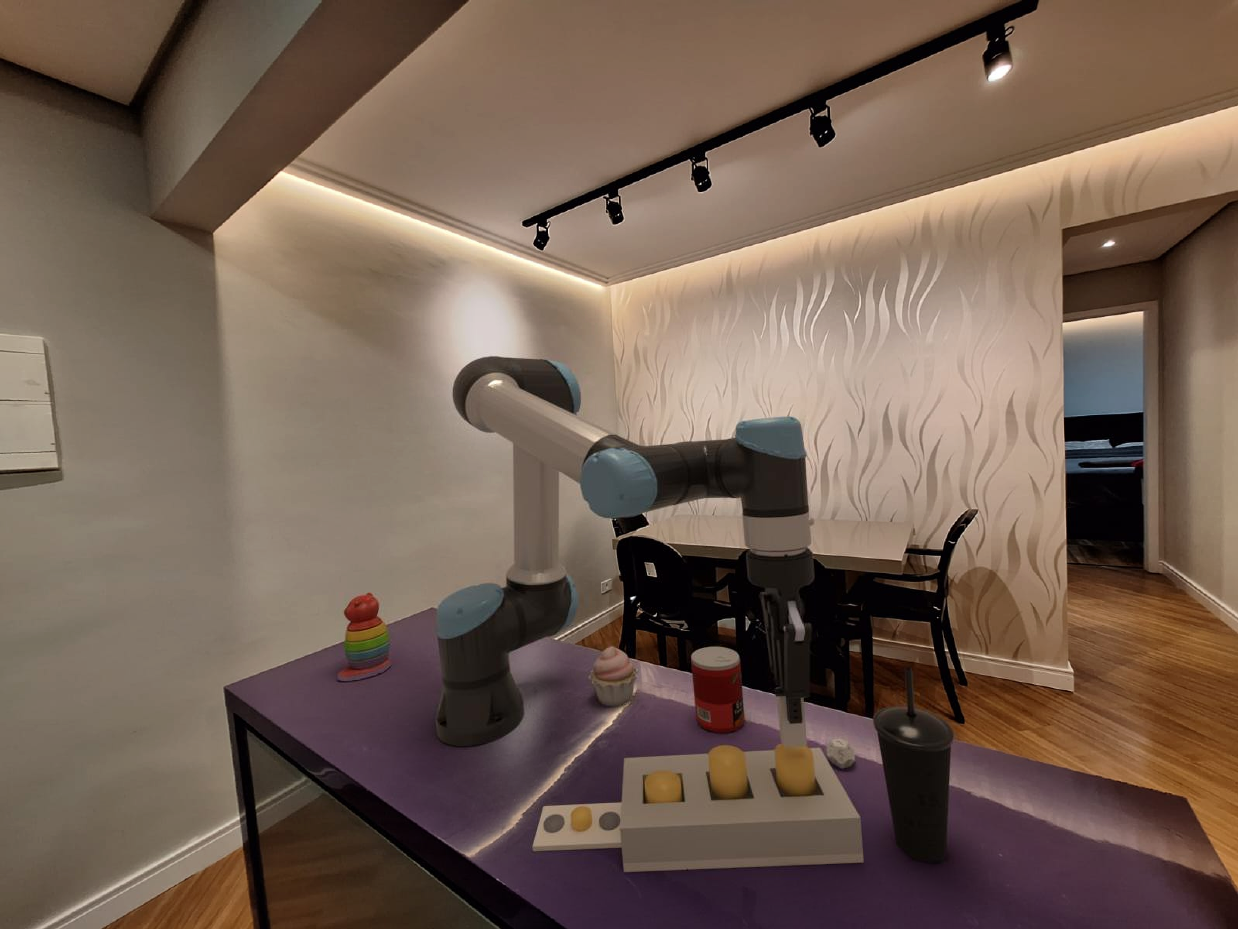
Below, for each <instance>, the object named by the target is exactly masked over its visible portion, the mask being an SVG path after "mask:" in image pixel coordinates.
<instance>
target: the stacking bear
mask: <svg viewBox="0 0 1238 929" xmlns="http://www.w3.org/2000/svg"><path fill="white" fill-rule="evenodd" d="M379 609H380V603H379V600H378V599H377V598H376V597H375V596H374V594H373V593H371V592H367V593H366V594H361V595H358V596H355V597H354V598H352V599H351V600H350V602H349V603H348V604H347V606H346V608H345V609H344V610H343V615H344V616H345V617H344V618H346V620H348V622H349V623H348V624H347V626H346V631H345V634H344V635H345V636H344V642H343V649H344V654H345V657H346V660H347V664H348V666H347V667H345V668H344V669H342V670H340V671H339V673H338V674H337V675H339V676H341V677H343V676H344V677H345V676H346V677H349V676H350V677H351V676H356V675H361V674H367V673H370V672H372V671H375V670H377V669H380V668H381V667H384V666H385V665H386V664H388V663H389V661H390V660H391V658H390V657H389V652H390V646H391V645H390V644H391V639H390V634H389V631H388V627H387V625H386V622H385V621H384V620H383V619H382V618H381V617H380V616H378V614H379Z"/></svg>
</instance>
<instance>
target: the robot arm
mask: <svg viewBox="0 0 1238 929" xmlns="http://www.w3.org/2000/svg"><path fill="white" fill-rule="evenodd" d="M451 392H452V401H453V405H454V408H455V409H456V411H457V413H458V415H460V417H461V419H463V420H464V421H465V422H466V423H468V424H469V425H470V426H472V427H474V428H475V429H476V430H479V431H481V432H484V433H486V434H488V433H489V434H492V433H493V434H494V433H496V434H498V435H499V436H501V437H503V438H504V439H506V440H507V441H509V442H510V443H512V460H513V461H512V463H513V464H512V466H513V467H512V468H513V470H512V471H513V472H512V475H513V477H512V478H513V479H512V481H513V484H512V486H513V564H512V565H511V566H510V567H508V568H507V571H506V574H505V576H506V578H505V579H506V580H505V584H506V585H505V586H504V587H502V586H501V585H500V584H498V583H494V582H486V583H479V584H478V585H474V584H473V585H471V586H467V587H464V588H462V589H460V590H459V589H458V590H457V591H455V592H453V593H451V594H449V595H448V596H446V597H444V599H442V601H441V602H440V604H438V606H437V608H436V610H435V611H436V613H435V614H436V624H435V625H436V626H435V633H436V636H437V644H438V645H437V646H438V653H439V659H440V660H439V661H440V668H441V669H440V670H441V672H440V673H441V679H442V689H441V694H440V699H439V704H438V708H437V713H436V718H435V726H436V727H435V728H436V735H437V738H438V739H439V740H440V741H441V742H443V743H445V744H447V745H449V746H456V747H471V746H477V745H481V744H485V743H488V742H492V741H495V740H497V739H499V738H501V737H503V736H505V735H507V734H508V733H510V732H511V731H513V730H514V729H515V728H516V727H517V726H518V725H519V724H520V723H521V722H522V720H523V718H524V716H525V706H524V705H525V704H524V699H523V695H522V693H521V691H520V689H519V687H518V685H517V683H516V681H515V678H514V677H513V674H512V671H511V665H510V664H511V663H510V654H511V653H512V652H514V651H516V650H519V649H520V648H524V647H527V645H530V644H531V645H532V644H533V643H536V642H537V641H538V642H539V640H543V639H545V638H549V637H552V636H554V635H557V634H558V633H560V632H561V631H563V630H565V629H567V628H568V627H570V626H571V624H572V623H573V622H574V620H575V618H576V615H577V614H578V611H579V610H578V609H579V594H578V590H577V588H575V585H576V584H575V581H574V580H573V578H572V577H571V576H570V575H569V574H568V573H567V570H566V569H567V568H566V567H565V566H564V565H562V564H561V563H560V561H559V555H560V554H559V552H560V550H559V548H560V547H559V546H560V545H559V543H560V542H559V540H560V530H559V529H560V523H559V522H560V473H561V474H563V475H565V476H567V477H568V478H569V479H571V480H573V481H574V482H576V483H578V484H580V491H581V495H582V498H583V500H584V502H587V503H588V507H589V509H590V510H591V512H593V513H594V514H595V515H596V516H598V517H601V518H605V519H619V518H631V517H632V518H633V517H636V516H639V515H641V514H644V513H649V512H652V511H656V510H660V509H663V508H667V507H671V506H678V505H681V504H686V503H689V502H694V501H699V500H703V499H740V502H741V509H742V510H741V512H742V514H741V518H742V527H743V529H742V530H743V540H744V546H745V547H746V548H747V549H748V550H747V552H746V554H745V558H746V560H745V561H746V570H747V579H748V581H749V582H750V583H751V584H752V585H754V586H757V587H759V588H763V589H764V591H760V593H759V599H760V602H761V603H760V604H761V607H762V614H763V622H764V629H765V630H764V631H765V636H766V637H765V638H766V644H767V650H768V660H769V669H770V672H771V673H773V674H774V678H773V680H774V681H773V682H775V685H776V686H777V687H774V690H773V691H774V694H775V695H774V696H775V697H776V698H777V699H776V700H777V712H778V725H779V726H778V727H779V735H780V736H779V737H780V742H781V743H782V744H783V746H784V747H800V746H807V747H808V741H807V740H808V737H807V728H806V726H807V725H806V713H805V701H804V699H806V698H810V696H811V695H810V694H811V692H810V689H811V688H810V686H811V685H810V681H811V680H810V678H811V676H810V674H811V672H810V671H811V668H810V667H811V662H810V661H811V657H810V656H811V639H812V636H813V635H812V634H813V626H812V624H811V623H810V622H804V616H805V614H806V609H805V608H806V607H805V602H804V599H803V598H801V597H800V593H799V591H800V590H801V588H803V587H807V586H809V585H810V584H812V583H813V582H814V580H815V566H814V564H815V563H814V555H813V551H812V550H811V548H809V547H810V546H811V544H812V534H811V526H814V524H815V520H814V518H813V517H810V512H809V511H810V508H809V507H810V506H809V500H808V499H809V497H808V482H807V478H808V477H807V462H806V460H807V459H806V458H807V451H806V450H805V443H804V436H803V429H802V423H801V421H800V420H798V418H796V417H794V416H788V415H787V416H774V417H764V418H756V419H749V420H742V421H739V422H738V423H737V424H736V426H735V434H734V437H731V438H726V439H709V440H694V441H693V440H692V441H691V440H689V441H688V440H686V441H679V442H675V443H668V444H667V443H666V444H657V445H656V444H654V445H640V444H637V443H636V442H633V441H630V440H629V439H627V438H624V437H622V436H621V435H618V434H616V433H615V432H613V431H610V430H608V429H606V428H604V427H601V426H599V425H598V424H595V423H593V422H591V421H589V420H587V419H585V418H582V417H581V416H579V415H578V412H579V411H580V409H581V403H582V394H581V388H580V384H579V381H578V379H577V377H576V375H575V373H573V372H572V370H571V368H569V367H568V366H567V365H566V364H564V363H563V362H559V361H555V360H548V359H545V358H544V359H543V358H540V359H538V358H523V357H507V356H506V357H505V356H498V355H497V356H496V355H495V356H493V355H492V356H491V355H490V356H483V357H480V358H477V359H474V360H472V361H470V362H469V363H468V364H466V365H465V366H464V367H462V368H461V370H460V371H459V372H458V374H457V375H456V377H455V379H454V382H453V384H452V391H451ZM778 686H779V687H778ZM523 715H524V716H523Z"/></svg>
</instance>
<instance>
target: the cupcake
mask: <svg viewBox="0 0 1238 929" xmlns="http://www.w3.org/2000/svg"><path fill="white" fill-rule="evenodd" d="M638 671H639V669H638V668H635V666H634V662H633V661H632V660H631V659H630V658H629V657H628V655H627V653H625V652H624V651H622V650H621V649H620V648H616V647H614V646H613V645H611V646H609V647H606V648H605V649H604V650H603V651H602V653H601V655H600V656H598V658H596V660H595V661H594V664H593V669H592V670H591V671H590V675H588V679H589V681H590V682H591V684H592V685H593V688H594V690H595V693H596V695H597V698H598V701H599V703H600V702H601V703H602V704H601V703H600V704H601V705H603V706H605V705H606V707H610V706H616V707H620V706H619V705H621V706H624V705H626V704H628V703H629V702H630V701H631V700H632V697H633V696H634V695H633V694H634V685H635V682H636V680H637V678H638ZM627 702H628V703H627ZM625 703H626V704H625ZM623 704H624V705H623Z"/></svg>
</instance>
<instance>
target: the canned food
mask: <svg viewBox="0 0 1238 929" xmlns="http://www.w3.org/2000/svg"><path fill="white" fill-rule="evenodd" d="M690 658H691V660H690V661H691V672H692V673H691V675H692V676H691V677H692V686H693V696H694V706H695V709H694V710H695V717H696V719H697V722H698V724H699V725H700V726H701V727H702V728H703V729H705V730H707V731H710V732H713V733H719V734H720V733H721V734H724V733H731V732H735V731H737V730H739V729H740V728H741V727H742V726H743V724H744V720H745V707H744V706H745V705H744V694H743V693H744V692H743V682H742V669H741V659H740V655H739V654H738V652H737V651H735V650H734V649H731V648H728V647H722V646H708V647H703V648H699V649H696V650H695V651H694V652H692V654H691V657H690Z"/></svg>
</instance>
